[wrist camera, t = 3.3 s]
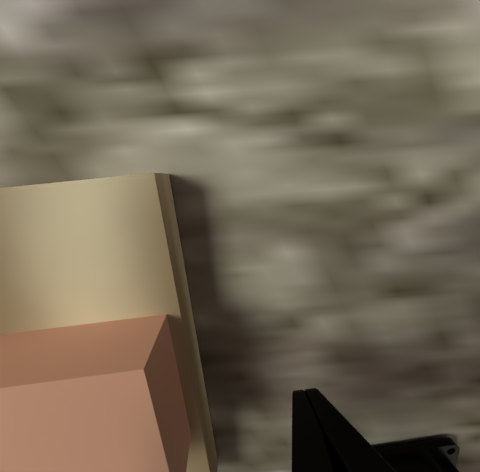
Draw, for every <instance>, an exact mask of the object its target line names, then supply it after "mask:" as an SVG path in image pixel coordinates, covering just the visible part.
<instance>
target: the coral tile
mask: <svg viewBox="0 0 480 472" xmlns="http://www.w3.org/2000/svg"><path fill="white" fill-rule="evenodd" d="M190 438H191V431H190V427H189V422H188V417H187V412H186V407H185V402H184V397H183V392H182V387H181V382H180V378H179V373H178V368H177V363H176V358H175V353H174V348H173V343H172V338H171V333H170V329H169V324H168V319H167V314H163V315H155V316H147V317H139V318H131V319H123V320H114V321H106V322H98V323H90V324H82V325H74V326H66V327H57V328H49V329H41V330H33V331H25V332H17V333H8V334H0V472H186V469H187V461H188V454H189V446H190Z"/></svg>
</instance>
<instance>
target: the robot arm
mask: <svg viewBox="0 0 480 472" xmlns="http://www.w3.org/2000/svg"><path fill="white" fill-rule="evenodd" d="M458 454H459V447H458V446H457V445H456V443H455V442H454V441H453V440H452V439H451V438H440V439H434V440H427V441H421V442H414V443H407V444H401V445H394V446H388V447H381V448H375V449H374V448H373V447H372V446H371V445H370V444H369V443H368V442H367V440H366V439H365V438H364V437H363V436H362V435H361V434H360V433H359V432H358V431H357V430H356V429H355V428H354V427H353V426H352V425H351V424H350V423H349V422H348V421H347V420H346V419H345V418H344V417H343V415H342V414H341V413H340V412H339V411H338V410H337V409H336V408H335V407H334V406H333V405H332V404H331V403H330V402H329V401H328V400H327V399H326V398H325V397H324V396H323V395H322V394H321V393H320V391H319V390H318V389H316V388H311V389H305V391H304V390H296V391H293V400H292V472H459V471H458V470H457V468H456V463H457V459H458Z"/></svg>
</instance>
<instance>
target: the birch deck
mask: <svg viewBox="0 0 480 472" xmlns="http://www.w3.org/2000/svg"><path fill="white" fill-rule="evenodd" d="M163 314H167V319H168V324H169V329H170V333H171V338H172V343H173V348H174V353H175V358H176V363H177V368H178V373H179V378H180V382H181V387H182V392H183V397H184V402H185V407H186V412H187V417H188V422H189V427H190V431H191V438H190V446H189V454H188V461H187V469H186V472H217V453H216V447H215V441H214V435H213V429H212V424H211V418H210V412H209V406H208V400H207V394H206V388H205V382H204V377H203V371H202V365H201V359H200V353H199V347H198V341H197V335H196V330H195V324H194V318H193V312H192V306H191V300H190V294H189V288H188V282H187V277H186V271H185V265H184V259H183V253H182V247H181V241H180V235H179V230H178V224H177V218H176V212H175V206H174V200H173V194H172V188H171V183H170V177H169V174H164V173H150V174H139V175H129V176H119V177H109V178H98V179H88V180H78V181H68V182H57V183H47V184H37V185H26V186H16V187H6V188H0V334H8V333H17V332H25V331H33V330H41V329H49V328H57V327H66V326H74V325H82V324H90V323H98V322H106V321H114V320H123V319H131V318H139V317H147V316H155V315H163Z"/></svg>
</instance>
